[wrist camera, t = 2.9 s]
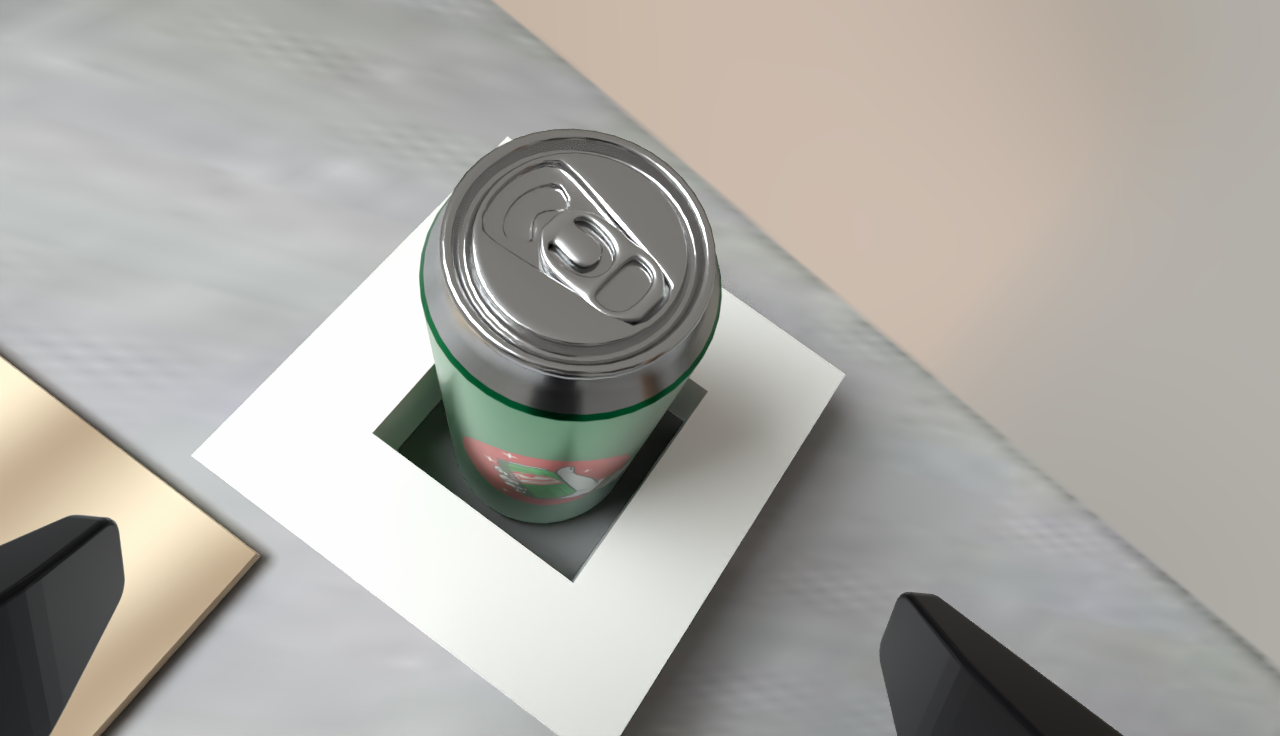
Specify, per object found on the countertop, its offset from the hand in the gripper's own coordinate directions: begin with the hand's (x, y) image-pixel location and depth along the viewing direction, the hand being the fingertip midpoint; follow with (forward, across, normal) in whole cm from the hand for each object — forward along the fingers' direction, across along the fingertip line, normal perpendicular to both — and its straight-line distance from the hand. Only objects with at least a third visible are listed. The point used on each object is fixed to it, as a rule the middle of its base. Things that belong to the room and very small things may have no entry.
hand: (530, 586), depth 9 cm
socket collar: (+13, 0, +6) cm, 14 cm away
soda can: (+13, 0, +6) cm, 14 cm away
